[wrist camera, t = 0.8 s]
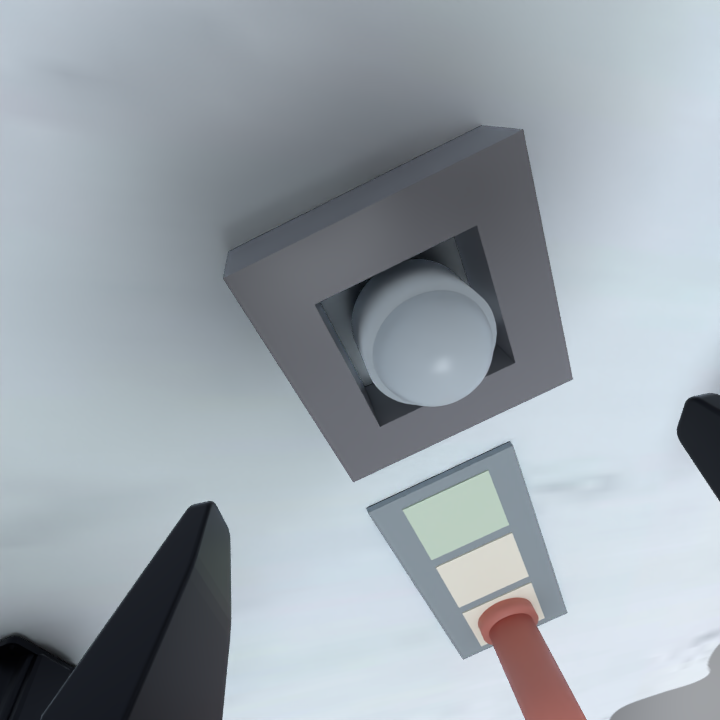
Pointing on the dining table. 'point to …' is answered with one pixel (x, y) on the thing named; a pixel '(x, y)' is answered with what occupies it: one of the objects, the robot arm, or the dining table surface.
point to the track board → (471, 544)
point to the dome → (423, 333)
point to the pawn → (528, 661)
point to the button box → (388, 248)
